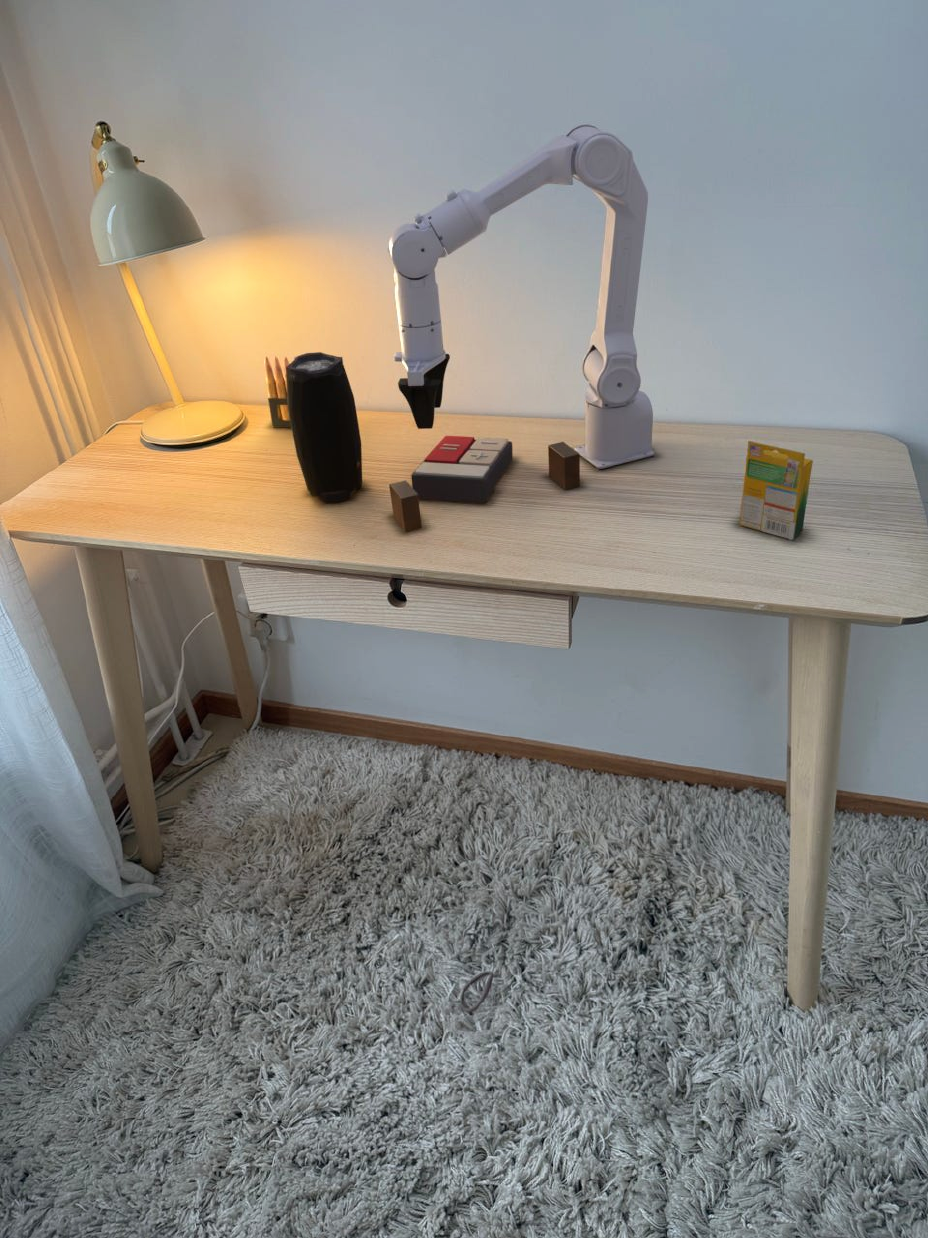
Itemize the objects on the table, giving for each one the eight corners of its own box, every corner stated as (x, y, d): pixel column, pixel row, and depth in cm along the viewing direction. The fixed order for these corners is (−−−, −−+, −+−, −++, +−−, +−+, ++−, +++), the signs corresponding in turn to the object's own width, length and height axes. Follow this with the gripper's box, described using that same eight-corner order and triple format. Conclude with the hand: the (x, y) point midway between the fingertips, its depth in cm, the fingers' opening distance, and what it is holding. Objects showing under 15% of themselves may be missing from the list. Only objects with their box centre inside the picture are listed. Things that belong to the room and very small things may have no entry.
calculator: (512, 436, 137) (484, 474, 125) (513, 463, 139) (486, 503, 127) (443, 432, 140) (409, 469, 128) (445, 459, 143) (412, 498, 131)
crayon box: (803, 531, 115) (816, 445, 108) (792, 541, 113) (805, 454, 107) (749, 516, 119) (758, 432, 113) (738, 525, 117) (747, 440, 111)
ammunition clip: (272, 426, 158) (258, 357, 151) (276, 422, 159) (263, 354, 152) (329, 428, 155) (318, 358, 148) (333, 424, 156) (322, 355, 150)
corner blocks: (563, 473, 134) (563, 441, 131) (579, 486, 130) (579, 453, 127) (393, 516, 127) (388, 484, 124) (405, 532, 123) (401, 498, 120)
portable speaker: (379, 486, 135) (360, 355, 124) (330, 511, 129) (306, 376, 118) (340, 472, 140) (320, 345, 129) (292, 495, 134) (266, 365, 123)
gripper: (400, 306, 130) (410, 399, 137) (380, 339, 118) (392, 438, 126) (449, 304, 129) (457, 397, 136) (434, 337, 117) (443, 437, 125)
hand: (429, 417), depth 131 cm, fingers open, 7 cm apart
